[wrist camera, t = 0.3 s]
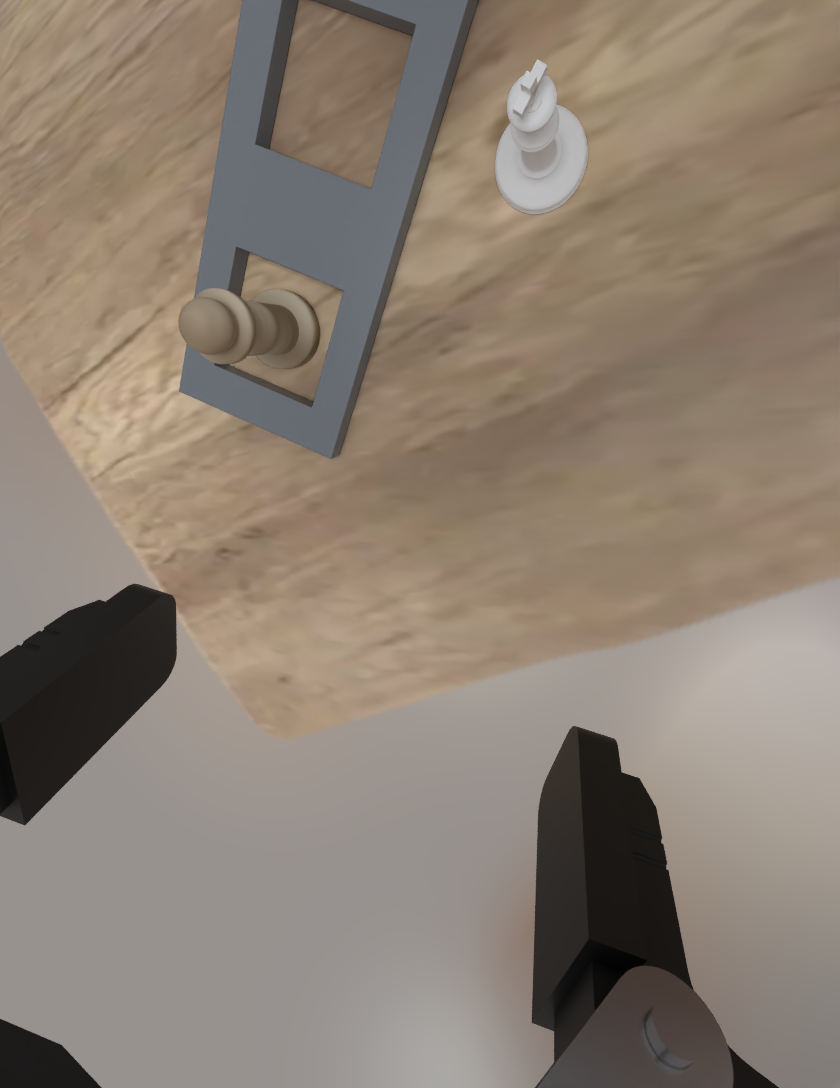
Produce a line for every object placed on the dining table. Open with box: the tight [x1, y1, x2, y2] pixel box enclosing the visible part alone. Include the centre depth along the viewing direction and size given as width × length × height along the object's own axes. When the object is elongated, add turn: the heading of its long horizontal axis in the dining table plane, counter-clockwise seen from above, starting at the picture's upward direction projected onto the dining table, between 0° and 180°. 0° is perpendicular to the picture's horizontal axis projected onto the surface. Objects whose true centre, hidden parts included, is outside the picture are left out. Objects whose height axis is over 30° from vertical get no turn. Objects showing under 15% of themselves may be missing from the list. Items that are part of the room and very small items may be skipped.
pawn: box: [179, 288, 320, 369], centre depth 31 cm, size 5×5×10 cm
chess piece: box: [495, 59, 588, 214], centre depth 25 cm, size 5×5×10 cm
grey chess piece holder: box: [179, 0, 478, 459], centre depth 32 cm, size 26×12×2 cm, turn 159°
